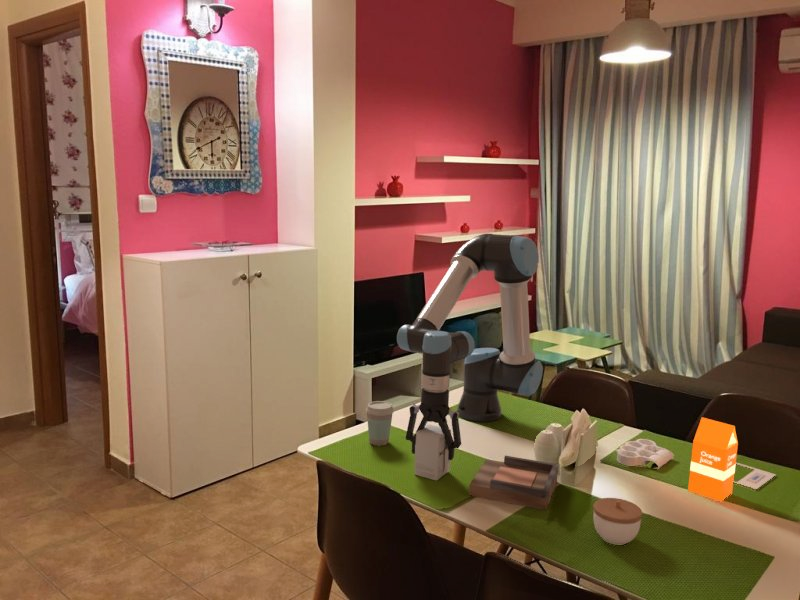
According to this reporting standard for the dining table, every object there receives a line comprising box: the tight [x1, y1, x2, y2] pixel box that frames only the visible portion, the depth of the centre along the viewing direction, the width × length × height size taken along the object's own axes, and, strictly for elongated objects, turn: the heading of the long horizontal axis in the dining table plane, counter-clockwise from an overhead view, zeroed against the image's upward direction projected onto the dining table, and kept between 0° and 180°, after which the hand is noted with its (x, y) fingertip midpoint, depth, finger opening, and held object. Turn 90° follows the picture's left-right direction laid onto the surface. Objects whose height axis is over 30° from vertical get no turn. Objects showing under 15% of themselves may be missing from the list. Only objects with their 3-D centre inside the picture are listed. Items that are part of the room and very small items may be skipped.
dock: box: [468, 455, 559, 511], centre depth 189 cm, size 18×20×5 cm
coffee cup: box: [365, 400, 394, 447], centre depth 217 cm, size 8×8×12 cm
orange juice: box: [687, 417, 739, 503], centre depth 188 cm, size 8×9×20 cm
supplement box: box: [414, 424, 452, 481], centre depth 196 cm, size 7×7×13 cm
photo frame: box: [733, 461, 777, 490], centre depth 203 cm, size 15×1×18 cm
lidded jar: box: [592, 497, 643, 545], centre depth 163 cm, size 11×11×9 cm
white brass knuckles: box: [614, 438, 675, 470], centre depth 211 cm, size 3×18×15 cm
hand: (432, 467), depth 196 cm, fingers closed on supplement box, 8 cm apart
